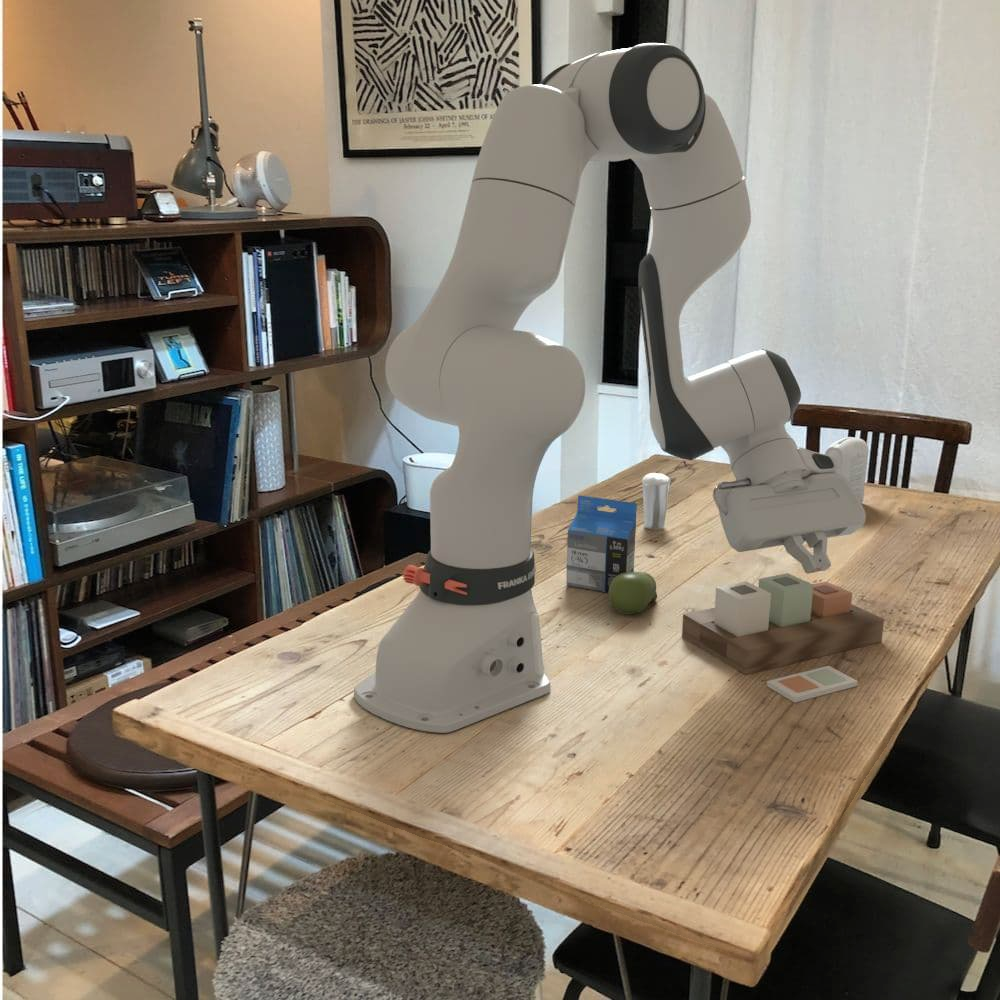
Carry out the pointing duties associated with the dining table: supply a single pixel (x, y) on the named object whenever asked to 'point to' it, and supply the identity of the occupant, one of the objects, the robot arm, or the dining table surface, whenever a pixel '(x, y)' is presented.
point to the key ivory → (742, 608)
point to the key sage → (788, 599)
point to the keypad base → (783, 639)
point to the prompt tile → (811, 683)
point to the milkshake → (655, 500)
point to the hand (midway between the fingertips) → (819, 570)
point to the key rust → (830, 600)
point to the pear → (632, 592)
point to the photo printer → (851, 462)
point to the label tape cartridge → (600, 543)
